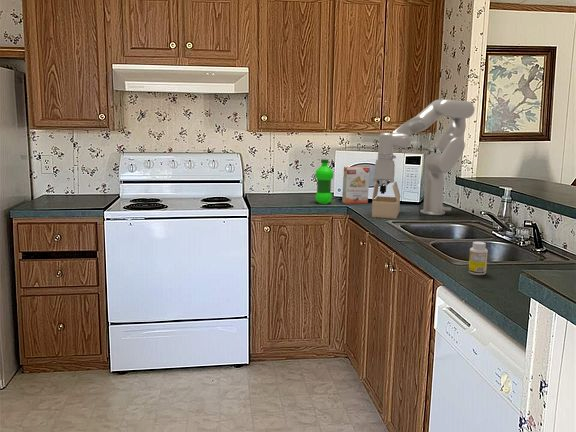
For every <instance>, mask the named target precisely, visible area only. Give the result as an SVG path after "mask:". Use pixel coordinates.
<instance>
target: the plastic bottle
mask: <svg viewBox="0 0 576 432" xmlns="http://www.w3.org/2000/svg"><path fill="white" fill-rule="evenodd" d="M320 163H321V165H320V166H319V167H318V168H317V169H316V170H315V174H314V175H315V178H316V180H317V182H316V183H317V186H316V193H315V200H316V202H317V203H318V204H321V205H328V204H329V203H330V202H331V201H332V198H333V195H332V193H331V189H332V188H331V187H332V180H333V178H334V171H333V170H332V168H330V167H329V165H328V164H329V159H326V158H324V159H323V158H321V160H320Z"/></svg>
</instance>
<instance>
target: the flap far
mask: <svg viewBox="0 0 576 432" xmlns="http://www.w3.org/2000/svg"><path fill="white" fill-rule="evenodd" d="M373 186H374V187H373V190H372V191H373V192H372V198H371V200H372V201H373V200H374V199H375V198H376V197H377V196H378V192H379V189H380V185H379V184H378V183H377V182H375V183H374V185H373Z"/></svg>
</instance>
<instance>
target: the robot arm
mask: <svg viewBox="0 0 576 432" xmlns="http://www.w3.org/2000/svg"><path fill="white" fill-rule="evenodd" d="M474 113H475V106H474V104H473V103H472V102H470V101H467V100H454V99H447V98H446V99H445V98H444V99H435V100H433V101H432V102H430V103H429V104H428V105H427V106H426V107H425V108H424V109H423V110H422V111H420V112H419V113H418V114H417V115H416V116H414V117H412V118H410V119H409V120H407V121H406V122H404V123H402V124H400V125H399V126H398V127H397V128H396V129H394V130H393V131H392V132H381V133H379V136H378V152H377V159H376V160H375V164H374V169H373V179H372V181H373V182H375V183H376V182H377V183H378V184H379V192H380V195H384V194H385V193H386V192H387V187H388V185H389V184H392V183H393V184H394V183H395V169H396V167H395V165H396V164H395V160H394V159H396V158H397V157H396V155H394V148H398V149H407V147H409V146H410V145H411V142H412V139H411V137H410V136H412V135H414V134H417V133H420V132H422V131H425V130H427V129H428V128H429V127H431V126H432V125H433V124H434V123H436V121H437V120H439V119H440V118H441V117H448V118H449V124H448V127H447V128H446V130H445V132H444V133H443V135H442V136H441V138H440V140H439V141H438V142H437V149H438V151H439V152H441V153H439V152H432V153H430V154H428V155H427V156H426V157H425V160H424V172H425V175H424V177H425V181H424V192H423V193H424V194H423V195H424V196H423V209H420V214H423V215H431V216H442V215H443V216H444V215H446V212H452V207H449V206H444V204H443V201H444V185H445V175H444V174H447V173H449V172H450V171H452V170H453V168H454V167H455V165H456V164H457V163H458V161H459V160H460V158H461V156H462V155H463V152H464V151H465V147H466V142H465V140H464V138H462V137H463V136H464V133H465V131H466V128H467V127H466V126H467V124H466V123H467V121H466V119H469V118H471V117H472V116H473V115H474ZM383 181H384V184H383ZM445 211H446V212H445Z"/></svg>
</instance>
